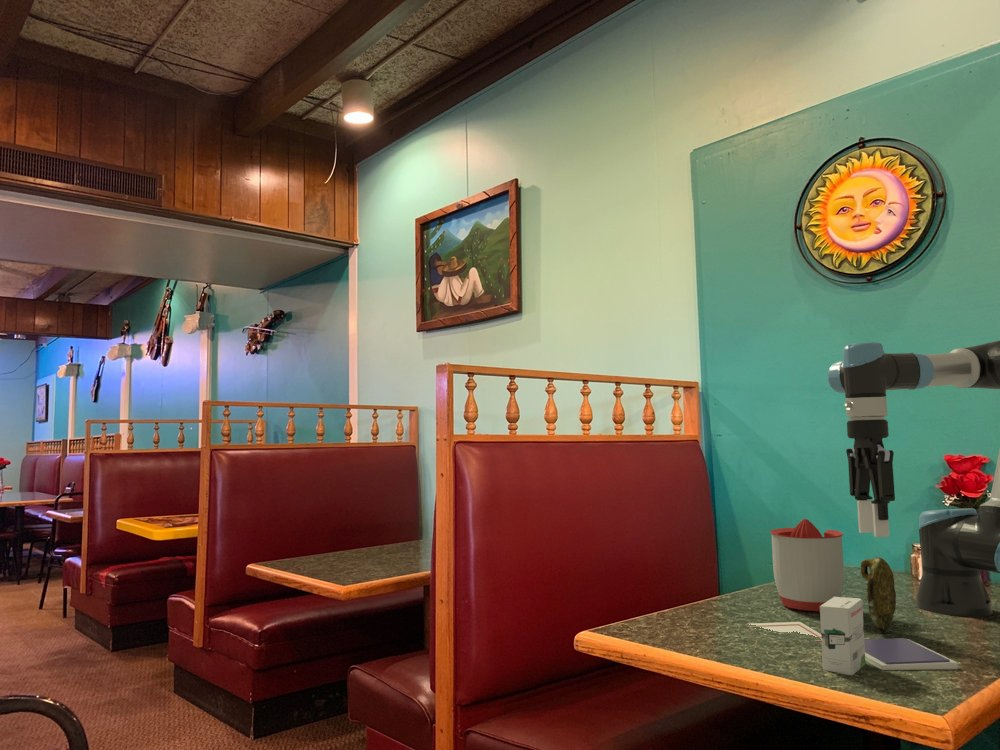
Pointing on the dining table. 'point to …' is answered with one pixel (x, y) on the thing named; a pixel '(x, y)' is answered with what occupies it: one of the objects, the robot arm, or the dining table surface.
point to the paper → (788, 628)
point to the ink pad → (904, 655)
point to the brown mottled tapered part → (880, 592)
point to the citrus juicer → (807, 565)
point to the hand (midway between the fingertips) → (873, 534)
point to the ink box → (842, 635)
